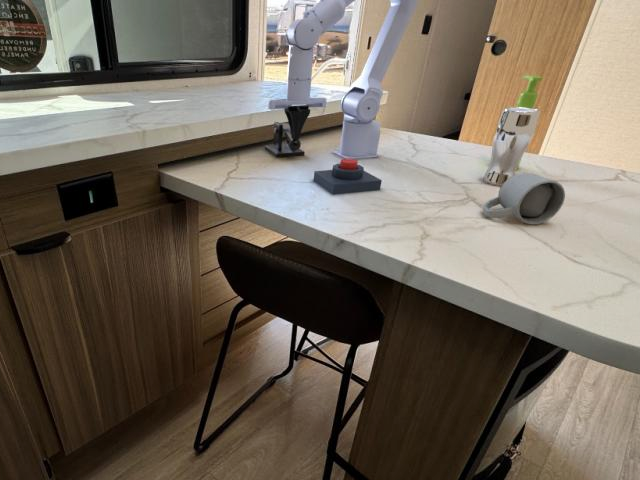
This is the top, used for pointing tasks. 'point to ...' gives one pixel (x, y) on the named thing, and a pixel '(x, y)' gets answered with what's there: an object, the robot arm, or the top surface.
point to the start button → (348, 164)
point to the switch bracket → (278, 147)
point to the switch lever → (293, 143)
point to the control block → (346, 180)
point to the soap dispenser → (529, 94)
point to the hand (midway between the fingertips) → (295, 138)
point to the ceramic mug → (527, 199)
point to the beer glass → (510, 142)
